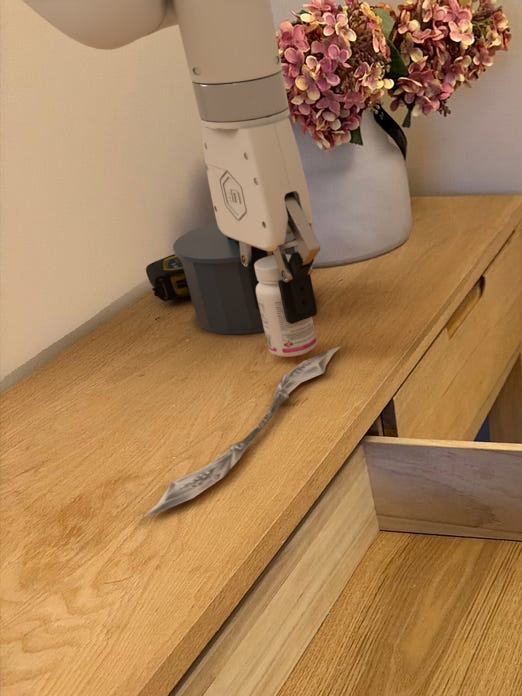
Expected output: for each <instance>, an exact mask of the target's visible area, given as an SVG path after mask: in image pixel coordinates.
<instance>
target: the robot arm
mask: <svg viewBox="0 0 522 696" xmlns="http://www.w3.org/2000/svg"><path fill="white" fill-rule="evenodd" d="M21 1H22V2H23V3H24V4H25V5H26V6H28V7H29V8H30V9H31V10H33V11H34V12H35V13H36V14H37V15H39V16H40V17H41V18H42V19H43V20H45V21H46V22H47V23H49V25H51V26H53V28H55V29H56V30H58V31H60V32H61V33H62V34H63V35H65V36H67V37H68V38H70V39H71V40H74V41H76V42H78V43H79V44H82V45H83V46H86V47H89V48H93V49H95V50H103V51H104V50H105V51H108V50H115V49H120V48H122V47H125V46H127V45H130V44H132V43H134V42H136V41H137V40H139V39H141V38H144V37H147V36H150V35H152V34H155V33H156V32H159V31H161V30H164V29H167V28H170V27H174V26H178V29H179V33H180V37H181V42H182V46H183V50H184V55H185V58H186V63H187V67H188V71H189V76H190V80H191V84H192V89H193V92H194V97H195V101H196V106H197V110H198V114H199V119H200V122H201V124H200V125H201V127H200V128H201V141H202V148H203V149H202V150H203V155H204V156H203V157H204V163H205V170H206V175H207V181H208V187H209V191H210V197H211V202H212V207H213V211H214V215H215V220H216V222H217V224H218V228H219V229H220V231H221V232H222V233H223V234H225V235H226V236H228V237H230V238H232V239H234V242H235V243H236V244H237V246H238V247H239V249H240V256H241V261H242V263H243V265H244V266H245V267H248V266H249V268H246V273H247V277H248V281H249V286H250V290H251V295H252V299H253V304H254V307H255V308H256V309H258V310H260V309H259V304H258V300H257V295H256V286H257V284H258V283H259V281H258V280H257V277H256V272H255V267H254V264H255V262H256V261H258V260H259V259H261V258H264V257H267V256H271V255H272V251H273V254H274V257H275V260H276V263H277V266H278V269H279V272H280V275H281V277H282V280H279V281H278V284H279V289H280V294H281V299H282V304H283V309H284V313H285V318H286V321H287V322H288V323H290V324H294V323H297V322H299V321H302V320H304V319H307V318H310V317H312V318H313V317H314V316H316V315H317V314H318V307H317V303H316V299H315V298H316V297H315V292H314V287H313V283H312V281H313V280H312V277H311V274H313V271H314V269H313V263H314V261H315V258H316V256H317V255H318V254H319V252H321V244H320V242H319V240H318V238H317V236H316V234H315V226H314V225H315V224H314V215H313V208H312V203H311V197H310V193H309V188H308V184H307V183H308V182H307V179H306V175H305V171H304V166H303V162H302V158H301V155H300V150H299V147H298V143H297V140H296V139H297V138H296V136H295V133H294V130H293V126H292V124H291V120H290V117H289V116H290V115H291V111H290V105H289V100H288V94H287V90H286V83H285V78H284V72H283V68H282V61H281V56H280V51H279V45H278V39H277V33H276V27H275V22H274V16H273V11H272V5H271V0H21ZM286 234H289V235H292V238H293V239H292V240H289V241H286V242H285V237H286ZM291 248H294V249H295V253H293V254H292V255H291V257H290V259H289V262H288V260H287V257H286V254H285V250H288V249H291Z"/></svg>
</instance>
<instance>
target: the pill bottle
mask: <svg viewBox="0 0 522 696" xmlns="http://www.w3.org/2000/svg"><path fill="white" fill-rule="evenodd" d="M286 257H287V260H288V262H289V259H290V257H291V255H288V254H286ZM254 267H255V272H256V277H257V280H258V281H259V283H258V284H257V286H256V295H257V300H258V304H259V309H260V313H261V318H262V322H263V327H264V335H265V339H266V344H267V348H268V351H269V353H271V355H274V356H277V357H283V358H286V357H287V358H288V357H289V358H291V357H297V356H302V355H305V354H307V353H309V352H310V351H312V350H313V349H315V348H316V346H317V335H316V329H315V325H314V319H313V316H312V317H310V318H307V319H304V320H302V321H299V322H297V323H294V324H290V323H288V322H287V321H286V318H285V313H284V309H283V304H282V299H281V294H280V289H279V284H278V281H279V280H282V277H281V275H280V272H279V269H278V266H277V263H276V260H275V257H274V255H271V256H267V257H264V258H261V259H259V260H258V261H256V262H255V264H254Z"/></svg>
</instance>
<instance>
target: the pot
mask: <svg viewBox="0 0 522 696" xmlns="http://www.w3.org/2000/svg"><path fill="white" fill-rule="evenodd" d="M293 253H295V249H294V248H291V249H288V250H285V254H288V255H292V254H293ZM272 255H274V254H272ZM181 262H182V266H183V269H184V273H185V277H186V281H187V284H188V288H189V292H190V295H191V296H190V299H191V303H192V306H193V310H194V315H195V317H196V321H197V324H198V325H199V326H200V327H201V329H204V330H205V331H207V332H210V333H214V334H220V335H234V336H235V335H252V334H258V333H265V331H264V327H263V322H262V318H261V313H260V310H258V309H256V308H255V307H254V304H253V299H252V295H251V290H250V286H249V281H248V277H247V273H246V268H249V266H248V267H245V266H244V265H243V263H242V261H241V262H234V263H222V264H203V263H194V262H189V261H185V260H182V259H181Z"/></svg>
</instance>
